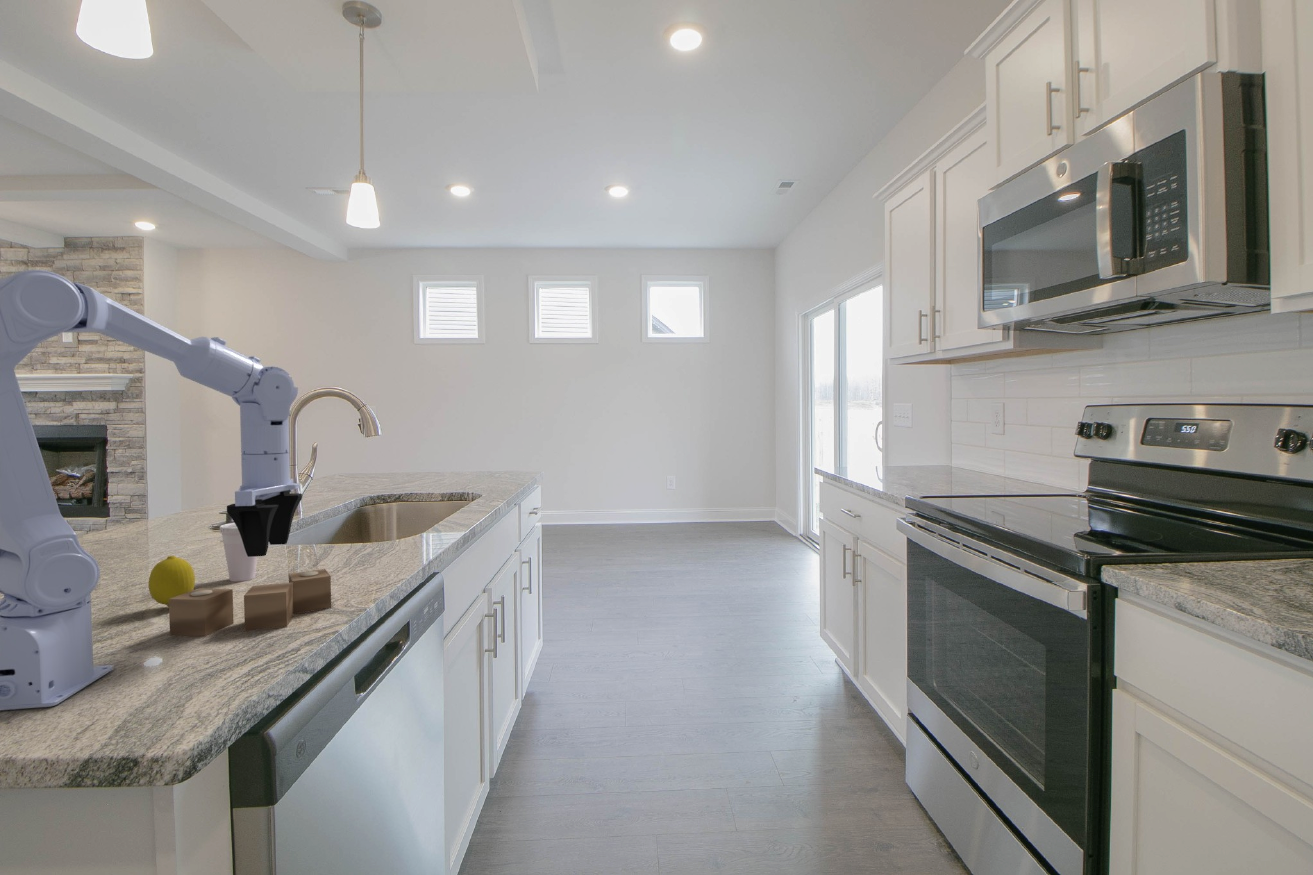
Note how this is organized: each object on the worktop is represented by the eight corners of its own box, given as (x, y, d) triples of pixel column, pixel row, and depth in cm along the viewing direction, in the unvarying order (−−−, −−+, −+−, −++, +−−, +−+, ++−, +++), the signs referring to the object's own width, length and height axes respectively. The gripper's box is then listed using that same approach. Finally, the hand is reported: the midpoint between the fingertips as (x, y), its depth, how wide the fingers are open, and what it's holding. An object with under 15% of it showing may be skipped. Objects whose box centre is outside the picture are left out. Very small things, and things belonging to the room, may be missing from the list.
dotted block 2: (331, 608, 95) (330, 574, 95) (293, 614, 92) (292, 579, 92) (325, 600, 99) (325, 567, 99) (289, 605, 96) (288, 572, 96)
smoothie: (211, 581, 109) (209, 501, 108) (245, 572, 115) (243, 496, 114) (239, 585, 107) (237, 503, 106) (272, 575, 113) (270, 498, 112)
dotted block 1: (205, 637, 83) (204, 598, 83) (169, 636, 83) (168, 597, 83) (233, 624, 88) (232, 587, 88) (199, 623, 88) (198, 586, 88)
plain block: (287, 627, 87) (286, 591, 87) (244, 631, 85) (243, 595, 85) (293, 616, 91) (292, 582, 91) (253, 620, 90) (252, 585, 89)
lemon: (170, 615, 91) (168, 560, 91) (139, 612, 92) (137, 558, 92) (204, 603, 97) (203, 552, 96) (175, 601, 98) (173, 550, 97)
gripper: (276, 456, 81) (279, 560, 81) (314, 449, 95) (316, 538, 96) (215, 457, 79) (218, 563, 80) (263, 449, 94) (265, 539, 94)
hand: (268, 549), depth 88 cm, fingers open, 7 cm apart
